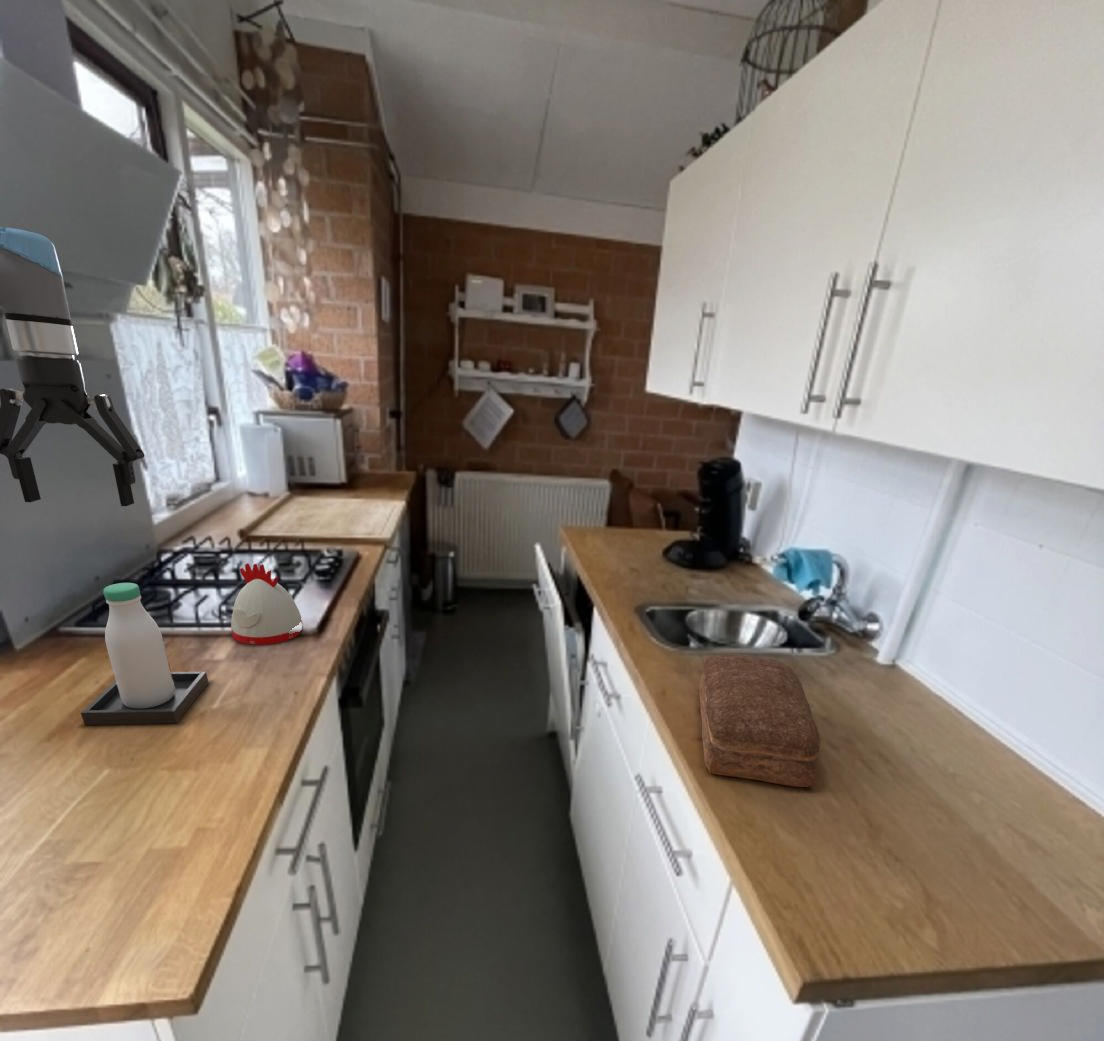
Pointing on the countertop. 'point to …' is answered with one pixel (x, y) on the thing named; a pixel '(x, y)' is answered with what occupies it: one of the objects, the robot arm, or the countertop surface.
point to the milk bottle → (136, 650)
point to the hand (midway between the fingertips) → (81, 503)
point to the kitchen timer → (263, 610)
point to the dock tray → (115, 712)
